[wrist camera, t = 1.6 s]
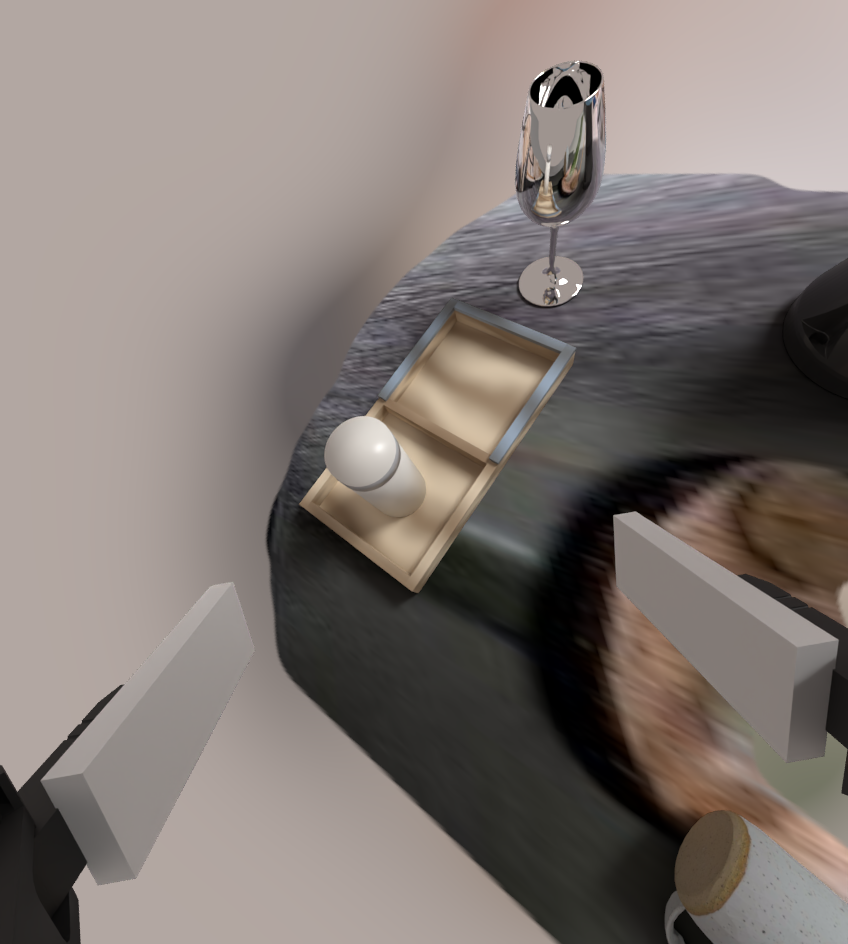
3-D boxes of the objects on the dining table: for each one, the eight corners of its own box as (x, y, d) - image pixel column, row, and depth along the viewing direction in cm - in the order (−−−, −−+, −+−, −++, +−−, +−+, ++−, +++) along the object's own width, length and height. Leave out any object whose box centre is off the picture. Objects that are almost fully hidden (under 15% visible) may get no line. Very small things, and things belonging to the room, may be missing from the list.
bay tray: (455, 314, 51) (451, 297, 48) (573, 364, 45) (576, 347, 42) (310, 509, 47) (296, 502, 44) (419, 593, 41) (411, 591, 38)
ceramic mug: (709, 783, 31) (762, 834, 24) (830, 886, 28) (932, 980, 21) (628, 904, 30) (658, 994, 23) (743, 1024, 27) (819, 1173, 20)
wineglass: (515, 310, 49) (509, 127, 31) (519, 260, 51) (516, 62, 33) (584, 306, 47) (621, 108, 29) (584, 254, 49) (619, 41, 31)
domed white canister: (394, 455, 46) (353, 404, 35) (437, 482, 43) (408, 436, 32) (362, 499, 45) (310, 460, 34) (404, 528, 43) (362, 498, 32)
